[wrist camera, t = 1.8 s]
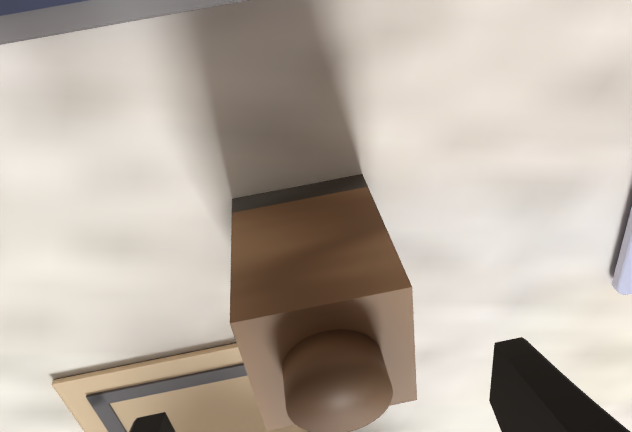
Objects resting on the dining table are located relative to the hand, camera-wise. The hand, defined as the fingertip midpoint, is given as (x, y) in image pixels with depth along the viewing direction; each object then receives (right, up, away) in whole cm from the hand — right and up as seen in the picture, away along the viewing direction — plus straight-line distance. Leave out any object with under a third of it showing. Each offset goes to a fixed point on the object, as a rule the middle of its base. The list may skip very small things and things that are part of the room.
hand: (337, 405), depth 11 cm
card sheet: (-4, -5, +10) cm, 12 cm away
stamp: (-1, +3, +5) cm, 6 cm away
